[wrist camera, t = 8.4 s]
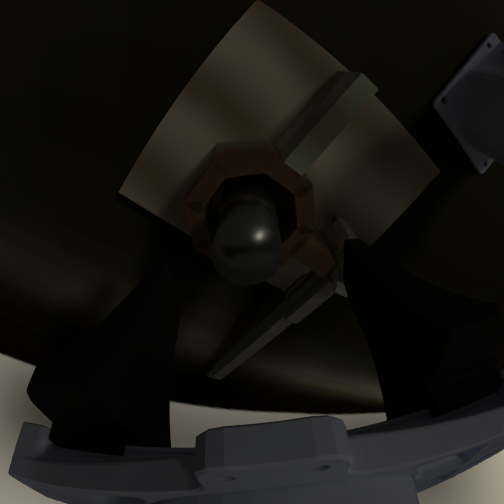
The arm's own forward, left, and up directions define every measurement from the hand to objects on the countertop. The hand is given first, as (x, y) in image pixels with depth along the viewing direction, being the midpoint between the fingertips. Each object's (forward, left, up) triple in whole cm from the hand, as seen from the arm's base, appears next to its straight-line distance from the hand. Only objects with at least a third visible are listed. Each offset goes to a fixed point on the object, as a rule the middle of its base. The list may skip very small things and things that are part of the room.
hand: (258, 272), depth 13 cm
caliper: (+8, +8, -10) cm, 15 cm away
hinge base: (-2, +1, -10) cm, 10 cm away
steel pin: (0, 0, -9) cm, 9 cm away
